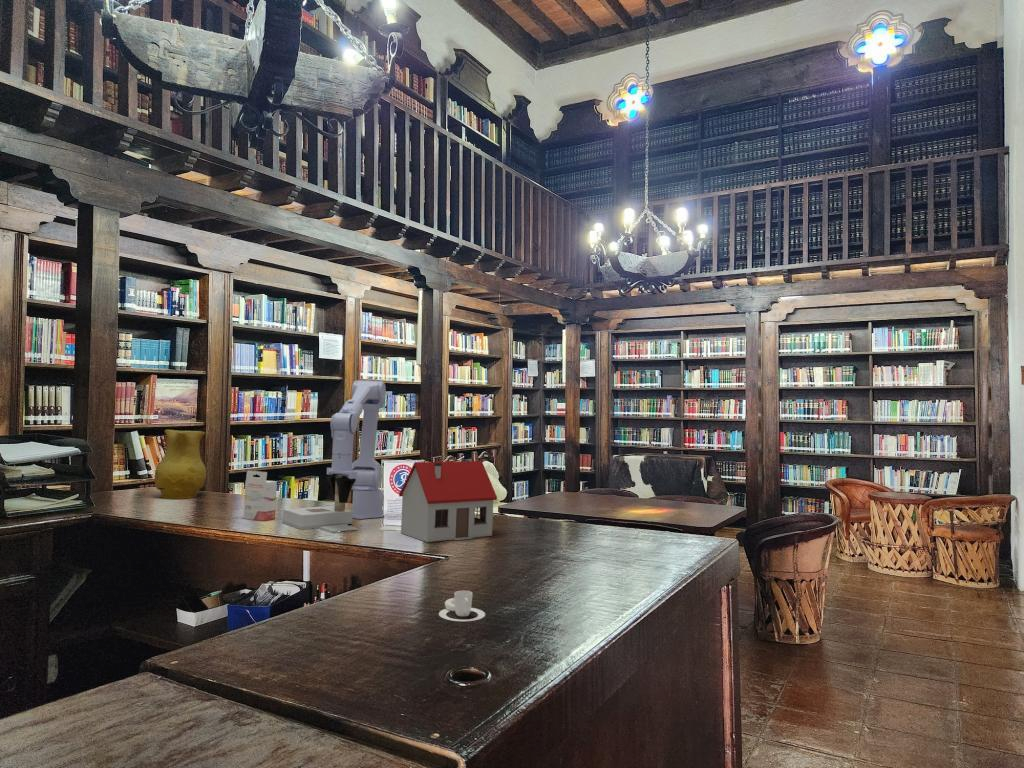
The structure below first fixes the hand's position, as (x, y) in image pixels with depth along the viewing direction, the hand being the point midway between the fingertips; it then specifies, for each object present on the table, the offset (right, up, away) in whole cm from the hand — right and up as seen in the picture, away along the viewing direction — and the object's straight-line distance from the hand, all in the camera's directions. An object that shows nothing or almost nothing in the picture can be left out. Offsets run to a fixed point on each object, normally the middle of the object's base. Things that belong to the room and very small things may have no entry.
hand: (340, 501), depth 188 cm
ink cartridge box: (-28, -8, +12) cm, 32 cm away
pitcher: (-73, -8, +55) cm, 92 cm away
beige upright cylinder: (0, -3, 0) cm, 3 cm away
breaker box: (-9, -8, +7) cm, 14 cm away
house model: (+31, -9, -2) cm, 32 cm away
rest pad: (0, -8, 0) cm, 8 cm away
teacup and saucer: (+43, -7, -73) cm, 85 cm away
